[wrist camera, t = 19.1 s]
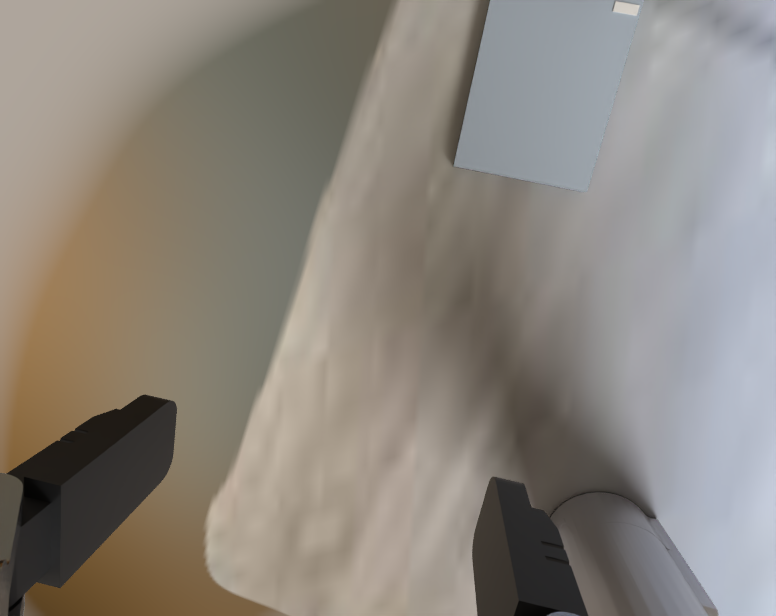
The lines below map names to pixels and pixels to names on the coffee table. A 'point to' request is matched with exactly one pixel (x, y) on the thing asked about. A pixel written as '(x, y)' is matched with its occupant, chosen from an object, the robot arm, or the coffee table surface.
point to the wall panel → (545, 88)
